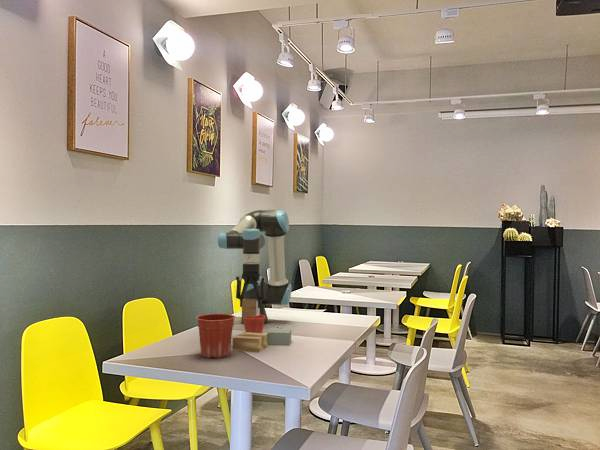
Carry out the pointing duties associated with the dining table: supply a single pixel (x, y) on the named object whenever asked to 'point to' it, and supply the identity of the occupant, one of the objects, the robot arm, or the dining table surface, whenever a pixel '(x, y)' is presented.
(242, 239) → the robot arm
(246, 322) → the flower pot
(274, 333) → the sage green pedestal
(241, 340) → the oak pedestal
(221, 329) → the flower pot
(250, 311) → the walnut block
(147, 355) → the dining table surface
